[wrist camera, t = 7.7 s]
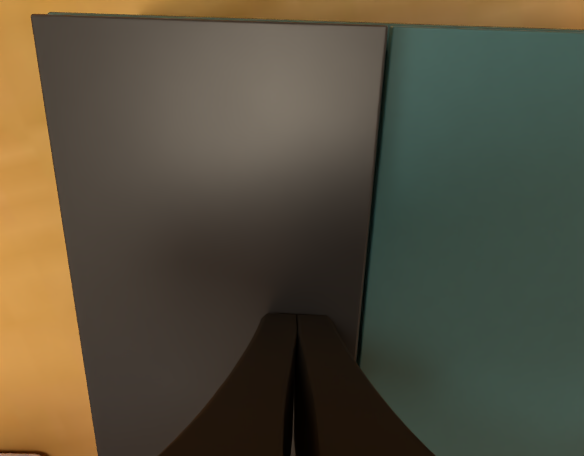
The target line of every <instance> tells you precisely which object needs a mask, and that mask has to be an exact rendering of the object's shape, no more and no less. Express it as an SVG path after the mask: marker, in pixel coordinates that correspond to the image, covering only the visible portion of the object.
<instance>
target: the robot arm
mask: <svg viewBox="0 0 584 456" xmlns="http://www.w3.org/2000/svg"><path fill="white" fill-rule="evenodd" d="M296 336H297V338H296ZM295 361H296V362H295ZM294 386H295V387H294ZM293 411H294V446H295V456H436V455H435V454H434V453H432V452H431V451H430V450H429V449H428V448H427V447H426V446H425V445H424V444H423V443H422V442H421V441H420V440H419V438H418V437H417V436H416V435H415V434H414V433H413V432H412V431H411V430H410V429H409V428H408V427H407V426H406V425H405V424H404V423H403V421H402V420H401V419H400V418H399V417H398V416H397V415H396V413H395V412H394V411H393V410H392V409H391V408H390V406H389V405H388V404H387V403H386V401H385V400H384V399H383V398H382V397H381V395H380V394H379V393H378V392H377V390H376V389H375V388H374V386H373V385H372V384H371V382H370V381H369V380H368V378H367V377H366V375H365V374H364V373H363V371H362V370H361V368H360V367H359V366H358V364H357V363H356V361H355V360H354V358H353V357H352V355H351V354H350V352H349V350H348V349H347V347H346V346H345V344H344V342H343V341H342V339H341V337H340V336H339V334H338V332H337V330H336V328H335V326H334V324H333V322H332V320H331V319H330V318H329V317H328V316H327V315H298V314H297V326H296V314H266V315H264V316H263V317H262V318H261V320H260V323H259V325H258V328H257V330H256V332H255V334H254V336H253V338H252V339H251V341H250V343H249V345H248V346H247V348H246V350H245V351H244V353H243V354H242V356H241V358H240V359H239V361H238V362H237V364H236V365H235V367H234V368H233V370H232V371H231V373H230V374H229V376H228V377H227V378H226V380H225V381H224V382H223V384H222V385H221V386H220V387H219V389H218V390H217V391H216V393H215V394H214V395H213V397H212V398H211V399H210V400H209V402H208V403H207V404H206V405H205V407H204V408H203V409H202V410H201V411H200V412H199V414H198V415H197V416H196V417H195V418H194V419H193V420H192V422H191V423H190V424H189V425H188V426H187V427H186V428H185V429H184V430H183V431H182V432H181V433H180V434H179V435H178V436H177V437H176V439H175V440H174V441H173V442H171V443H170V444H169V445H168V446H167V447H166V448H165V449H164V450H163V451H162V452H161V453H160V454H159V455H158V456H291V447H292V435H293ZM0 456H41V455H38V454H13V453H0Z"/></svg>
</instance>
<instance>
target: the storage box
mask: <svg viewBox="0 0 584 456" xmlns="http://www.w3.org/2000/svg"><path fill="white" fill-rule="evenodd" d="M48 14H50V15H82V16H113V17H145V18H176V19H207V20H239V21H270V22H302V23H333V24H365V25H386V26H388V34H387V45H386V55H385V65H384V76H383V86H382V97H381V107H380V118H379V128H378V139H377V149H376V159H375V170H374V180H373V191H372V201H371V212H370V222H369V233H368V243H367V253H366V264H365V274H364V285H363V295H362V306H361V316H360V327H359V337H358V347H357V358H356V363H357V364H358V366H359V367H360V368H361V370H362V371H363V373H364V374H365V375H366V377H367V378H368V380H369V381H370V382H371V384H372V385H373V386H374V388H375V389H376V390H377V392H378V393H379V394H380V395H381V397H382V398H383V399H384V400H385V401H386V403H387V404H388V405H389V406H390V408H391V409H392V410H393V411H394V412H395V413H396V415H397V416H398V417H399V418H400V419H401V420H402V421H403V423H404V424H405V425H406V426H407V427H408V428H409V429H410V430H411V431H412V432H413V433H414V434H415V435H416V436H417V437H418V438H419V440H420V441H421V442H422V443H423V444H424V445H425V446H426V447H427V448H428V449H429V450H430V451H431V452H432V453H434V454H435V455H436V456H584V30H575V29H545V28H515V27H485V26H455V25H425V24H395V23H365V22H335V21H305V20H275V19H245V18H215V17H185V16H155V15H125V14H95V13H64V12H49V13H48Z"/></svg>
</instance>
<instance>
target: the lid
mask: <svg viewBox="0 0 584 456" xmlns="http://www.w3.org/2000/svg"><path fill="white" fill-rule="evenodd" d="M31 21H32V28H33V34H34V41H35V47H36V54H37V60H38V67H39V73H40V80H41V86H42V93H43V100H44V106H45V113H46V119H47V126H48V132H49V139H50V145H51V152H52V158H53V165H54V171H55V178H56V184H57V191H58V198H59V204H60V211H61V217H62V224H63V230H64V237H65V243H66V250H67V256H68V263H69V269H70V276H71V282H72V289H73V296H74V302H75V309H76V315H77V322H78V328H79V335H80V341H81V348H82V354H83V361H84V367H85V374H86V380H87V387H88V394H89V400H90V407H91V413H92V420H93V426H94V433H95V439H96V446H97V452H98V456H158V455H159V454H160V453H161V452H162V451H163V450H164V449H165V448H166V447H167V446H168V445H169V444H170V443H171V442H173V441H174V440H175V439H176V437H177V436H178V435H179V434H180V433H181V432H182V431H183V430H184V429H185V428H186V427H187V426H188V425H189V424H190V423H191V422H192V420H193V419H194V418H195V417H196V416H197V415H198V414H199V412H200V411H201V410H202V409H203V408H204V407H205V405H206V404H207V403H208V402H209V400H210V399H211V398H212V397H213V395H214V394H215V393H216V391H217V390H218V389H219V387H220V386H221V385H222V384H223V382H224V381H225V380H226V378H227V377H228V376H229V374H230V373H231V371H232V370H233V368H234V367H235V365H236V364H237V362H238V361H239V359H240V358H241V356H242V354H243V353H244V351H245V350H246V348H247V346H248V345H249V343H250V341H251V339H252V338H253V336H254V334H255V332H256V330H257V328H258V325H259V323H260V320H261V318H262V317H263V316H264V315H266V314H296V326H297V314H298V315H327V316H328V317H329V318H330V319H331V320H332V322H333V324H334V326H335V328H336V330H337V332H338V334H339V336H340V337H341V339H342V341H343V342H344V344H345V346H346V347H347V349H348V350H349V352H350V354H351V355H352V357H353V358H354V360H355V361H356V358H357V347H358V337H359V327H360V316H361V306H362V295H363V285H364V274H365V264H366V253H367V243H368V233H369V222H370V212H371V201H372V191H373V180H374V170H375V159H376V149H377V139H378V128H379V118H380V107H381V97H382V86H383V76H384V65H385V55H386V45H387V34H388V26H386V25H365V24H333V23H302V22H270V21H239V20H207V19H176V18H145V17H113V16H82V15H50V14H32V15H31ZM296 338H297V336H296ZM295 362H296V361H295ZM294 387H295V386H294ZM291 456H295V446H294V411H293V435H292V447H291Z"/></svg>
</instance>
